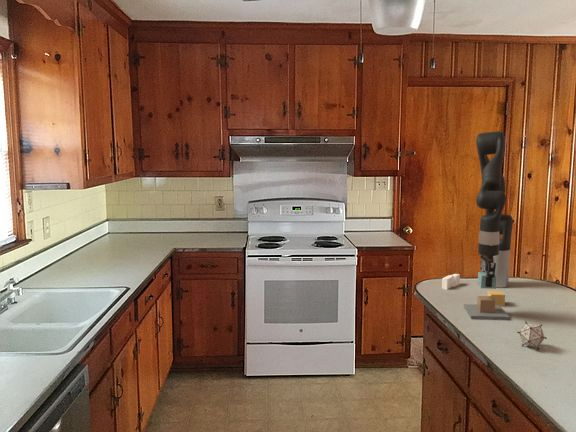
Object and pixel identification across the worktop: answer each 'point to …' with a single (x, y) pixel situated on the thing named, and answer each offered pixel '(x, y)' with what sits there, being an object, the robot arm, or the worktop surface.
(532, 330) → the game die
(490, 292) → the ochre block
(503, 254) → the robot arm
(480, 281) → the teal block
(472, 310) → the baseplate
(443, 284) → the notched block
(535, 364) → the worktop surface
